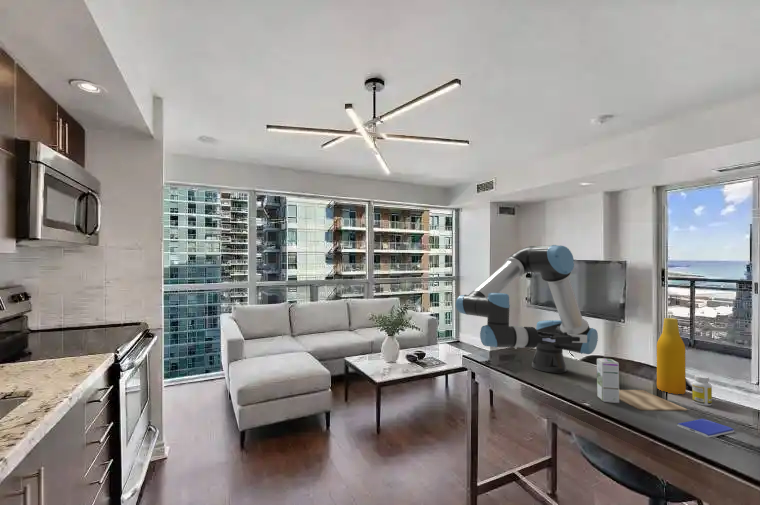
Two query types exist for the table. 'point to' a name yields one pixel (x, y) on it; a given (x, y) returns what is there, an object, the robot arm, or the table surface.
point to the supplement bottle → (702, 391)
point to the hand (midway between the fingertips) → (585, 338)
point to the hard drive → (706, 427)
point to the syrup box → (608, 380)
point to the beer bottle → (671, 359)
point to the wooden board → (647, 401)
